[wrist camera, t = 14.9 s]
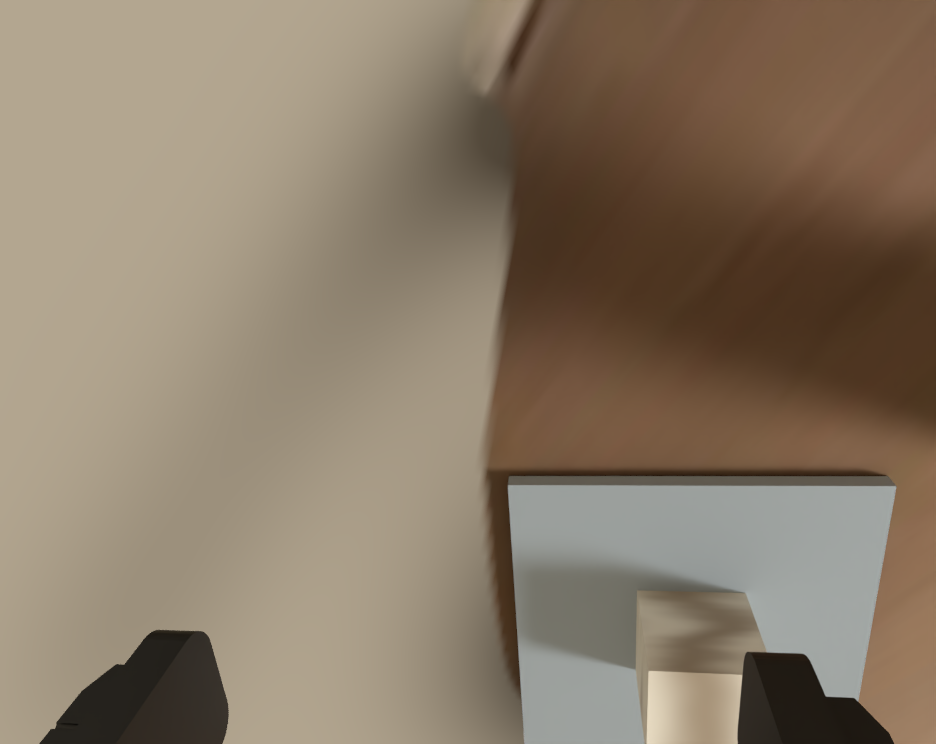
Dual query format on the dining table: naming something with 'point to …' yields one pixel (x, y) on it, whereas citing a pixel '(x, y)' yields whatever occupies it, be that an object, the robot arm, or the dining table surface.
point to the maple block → (692, 664)
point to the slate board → (684, 580)
